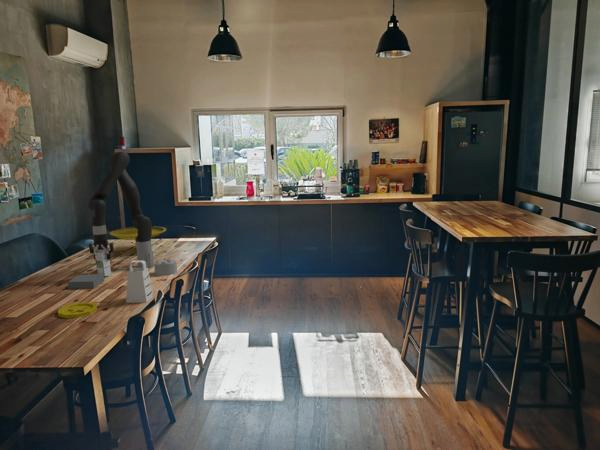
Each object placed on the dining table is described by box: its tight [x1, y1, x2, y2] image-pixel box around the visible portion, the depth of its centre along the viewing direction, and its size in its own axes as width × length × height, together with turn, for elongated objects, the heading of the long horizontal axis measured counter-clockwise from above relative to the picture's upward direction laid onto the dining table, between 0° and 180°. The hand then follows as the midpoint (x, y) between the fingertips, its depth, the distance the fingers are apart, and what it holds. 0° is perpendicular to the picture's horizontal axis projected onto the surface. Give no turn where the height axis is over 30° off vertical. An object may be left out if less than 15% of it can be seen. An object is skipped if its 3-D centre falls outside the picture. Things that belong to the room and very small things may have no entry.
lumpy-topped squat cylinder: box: [153, 257, 178, 277], centre depth 288 cm, size 10×13×9 cm
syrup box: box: [94, 250, 112, 277], centre depth 281 cm, size 6×6×14 cm
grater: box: [125, 259, 154, 304], centre depth 240 cm, size 10×10×20 cm
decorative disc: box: [57, 301, 98, 319], centre depth 224 cm, size 17×18×2 cm
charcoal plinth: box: [67, 273, 105, 290], centre depth 267 cm, size 14×14×4 cm
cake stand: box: [109, 226, 167, 254], centre depth 348 cm, size 40×40×15 cm
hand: (102, 259), depth 281 cm, fingers closed on syrup box, 6 cm apart
